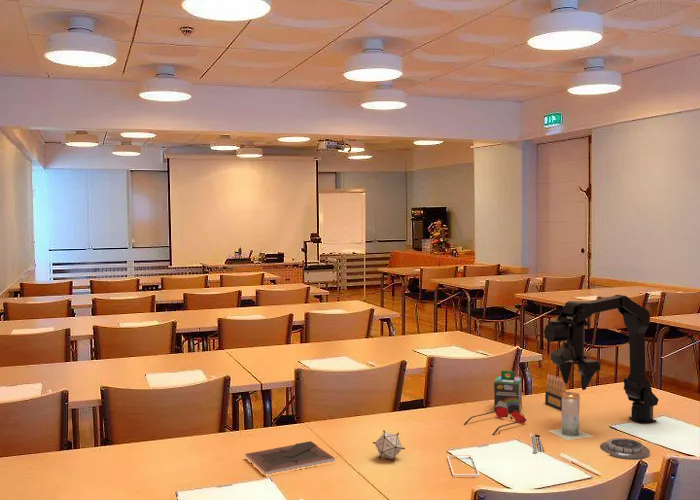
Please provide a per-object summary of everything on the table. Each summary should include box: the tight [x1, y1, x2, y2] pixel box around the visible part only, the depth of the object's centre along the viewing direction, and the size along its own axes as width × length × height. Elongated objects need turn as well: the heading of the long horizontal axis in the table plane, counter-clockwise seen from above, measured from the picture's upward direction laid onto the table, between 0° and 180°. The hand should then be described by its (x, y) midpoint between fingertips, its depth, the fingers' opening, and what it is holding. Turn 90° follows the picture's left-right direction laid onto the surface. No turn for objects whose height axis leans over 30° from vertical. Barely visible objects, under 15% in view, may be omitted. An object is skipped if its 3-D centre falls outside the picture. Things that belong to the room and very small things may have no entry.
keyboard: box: [529, 432, 545, 454], centre depth 216 cm, size 17×6×2 cm, turn 168°
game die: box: [371, 429, 406, 462], centre depth 205 cm, size 9×8×10 cm
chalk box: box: [493, 370, 523, 414], centre depth 253 cm, size 9×9×15 cm
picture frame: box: [244, 440, 336, 475], centre depth 204 cm, size 16×2×22 cm
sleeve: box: [560, 391, 581, 436], centre depth 224 cm, size 6×6×13 cm
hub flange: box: [599, 437, 651, 460], centre depth 210 cm, size 14×14×2 cm
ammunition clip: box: [544, 372, 567, 412], centre depth 256 cm, size 11×2×12 cm, turn 21°
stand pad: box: [548, 428, 594, 441], centre depth 225 cm, size 10×10×1 cm
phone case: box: [447, 454, 480, 477], centre depth 198 cm, size 7×1×15 cm
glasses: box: [463, 406, 528, 436], centre depth 236 cm, size 14×16×5 cm
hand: (574, 386), depth 229 cm, fingers open, 9 cm apart
